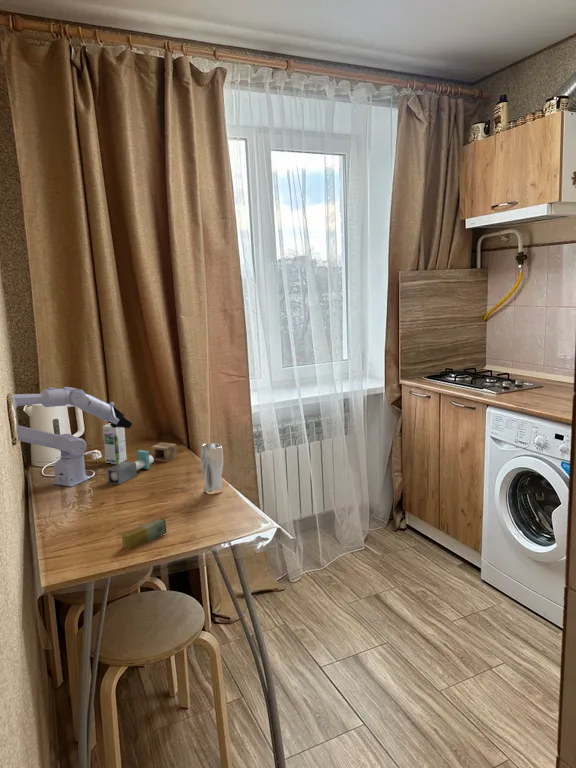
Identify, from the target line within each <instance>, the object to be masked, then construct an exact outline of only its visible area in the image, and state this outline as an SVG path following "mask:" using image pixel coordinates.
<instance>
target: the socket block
mask: <svg viewBox="0 0 576 768" xmlns="http://www.w3.org/2000/svg"><path fill="white" fill-rule="evenodd" d="M150 449H151V456H152V457H153V458H154V461H158V462H164V463H165V462H166V463H169V462H170V461H172V460H174V459H176V458H178V453H177V444H176V443H171V442H169V443H168V442H161V441H160V442H158V443H157V444H154V445H152V446H151V448H150Z"/></svg>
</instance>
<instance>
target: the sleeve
mask: <svg viewBox="0 0 576 768" xmlns="http://www.w3.org/2000/svg"><path fill="white" fill-rule="evenodd" d="M134 462H135V461H127V460H126V461H124V462H122V463H120V464H114V465H113V466H111V467H109V468H107V469H106V473H107V475H106V476H107V484H112V485H119V486H121V485H122V484H124V483H126V482H128V481H130V480H132V479H134V478H135V476H136V477H138V474H137V472H138V470H137V471H136V463H134ZM112 472H117V478H118V480H116V481H114V480H112V479H111V473H112ZM133 477H134V478H133ZM131 478H132V479H131ZM129 479H130V480H129ZM127 480H128V481H127Z"/></svg>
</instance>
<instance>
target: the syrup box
mask: <svg viewBox="0 0 576 768" xmlns="http://www.w3.org/2000/svg"><path fill="white" fill-rule="evenodd" d="M111 423H112V422H110V423H107V424H105V425H103V426H102V430H103V431H102V433H103V442H104V443H103V444H104V454H105V455H104V458H105V464H106V463H111V465H117V464H120V463H121V462H123V461H125V460H126V461H127V460H128V457H127V446H126V432H125V429H126V428H123V427H116V428H113V427H111V425H110V424H111Z"/></svg>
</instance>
